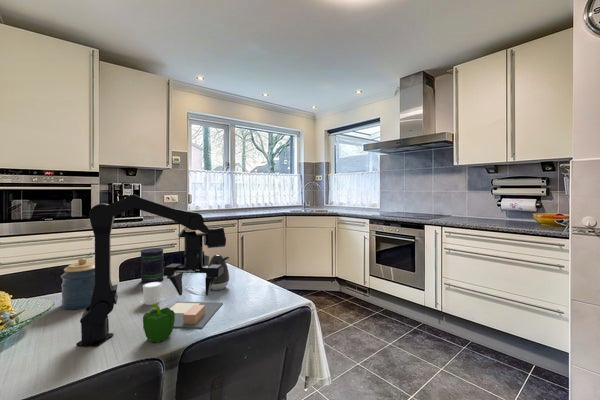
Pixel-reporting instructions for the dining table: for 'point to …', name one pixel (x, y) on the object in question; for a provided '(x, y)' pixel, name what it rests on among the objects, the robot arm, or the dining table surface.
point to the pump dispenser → (224, 277)
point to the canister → (78, 284)
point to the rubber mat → (183, 307)
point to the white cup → (152, 292)
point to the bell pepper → (158, 323)
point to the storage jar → (152, 265)
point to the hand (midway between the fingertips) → (194, 295)
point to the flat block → (194, 314)
